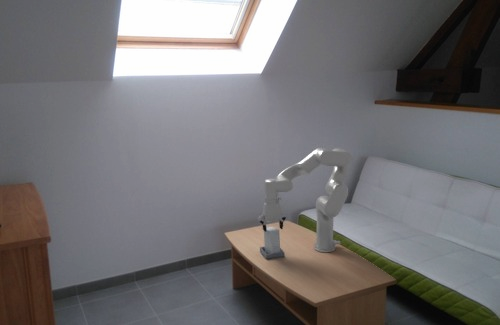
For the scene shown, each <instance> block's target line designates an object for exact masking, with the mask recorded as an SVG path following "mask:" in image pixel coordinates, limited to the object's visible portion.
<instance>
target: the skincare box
mask: <svg viewBox="0 0 500 325" xmlns="http://www.w3.org/2000/svg"><path fill="white" fill-rule="evenodd" d="M263 239H264V240H263V241H264V242H263V244H264V247H265V253H267V254H274V253H280V248H281V241H280V240H281V238H280V229H278V228H277V227H274V226H266V232H265V231H264V230H263Z"/></svg>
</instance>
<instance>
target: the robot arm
mask: <svg viewBox="0 0 500 325" xmlns="http://www.w3.org/2000/svg"><path fill="white" fill-rule="evenodd" d="M353 158H354V157H353V154H352V153H351V152H350V151H347V150H345V149H342V148H340V147H335V148H333V149H331V150H330V149H327V148H324V147H317V148H316V149H314V150H313V151H312V152H310V153H309V154H308V155H306V156H305V157H304V158H303V159H302V160H300V161H299V162H296V163H294V164H293V165H291V166H288V167H287V168H285V169H284V170H283V171H281V172H280V173H279V174H278V175H277V176H276V177H275V178H266V179H265V180H264V182H263V184H264V201H265V202H264V203H263V207H262V214H261V215H259V216H258V217H257V220H258V221H259V223H260V224H262V230H263V232H264V231H265V232H266V228H267V225H266V224H267V223H269V222H273V221H274V222H275V221H279V222H278V223H279V224H278V225H279V226H278V227H279V229H281V230H283V228H284V223H285V220H286V219H287V216H288V213H287V212H284V211H282V207H281V203H280V201H281V200H282V198H281V197H279V193H289V192H291V191H292V190H293V188H294V183H293V181H292V180H294V179H296V178H297V177H302V176H307V175H309V174H311V173H312V172H313V171H315V170H316V169H317V168H318V167H320V166H321V165H323V166H327V167H333V170H332V172H331V174H330V177H329V179H328V180H327V183H326V185H325V187H324V188H325V192H326V193H327V194H328V195H329V196H328V195H321V196H319V197H318V198H317V199H316V202H315V210H316V211H315V212H316V240H315V241H316V243H315V244H313V249H314V250H315V251H317V252H320V253H330V252H331V253H332V252H335V250H336V245H341V240H336V239H334V218H335V217H337V216H338V215H339V214H340V213H341V211H342V209H343V206H344V205H345V202H346V201H347V198H348V195H349V188H348V186H347V185H346V184H345V182H346V180H347V177H348V175H349V172H350V171H349V169H350V168H349V166H351V164H352V162H353V160H354V159H353ZM262 219H263V220H262Z"/></svg>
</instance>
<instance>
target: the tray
mask: <svg viewBox="0 0 500 325" xmlns="http://www.w3.org/2000/svg"><path fill="white" fill-rule="evenodd" d="M259 252H260V254H261V255H262V256H263V258H264V259H265V260H271V259H280V258H285V251H284V250H283V249H282V247H280V253H274V254H267V253H265V246H260V247H259Z"/></svg>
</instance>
